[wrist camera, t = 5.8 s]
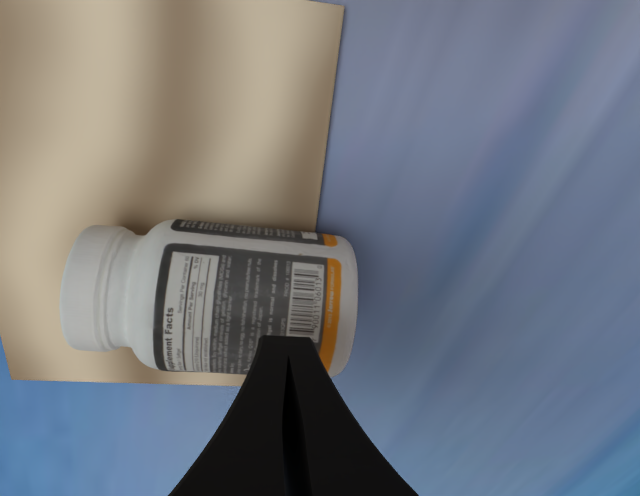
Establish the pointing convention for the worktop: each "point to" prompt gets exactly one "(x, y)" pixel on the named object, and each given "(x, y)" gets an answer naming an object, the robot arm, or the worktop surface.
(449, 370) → the worktop surface
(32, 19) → the beige flat rectangular panel
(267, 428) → the robot arm
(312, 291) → the pill bottle
